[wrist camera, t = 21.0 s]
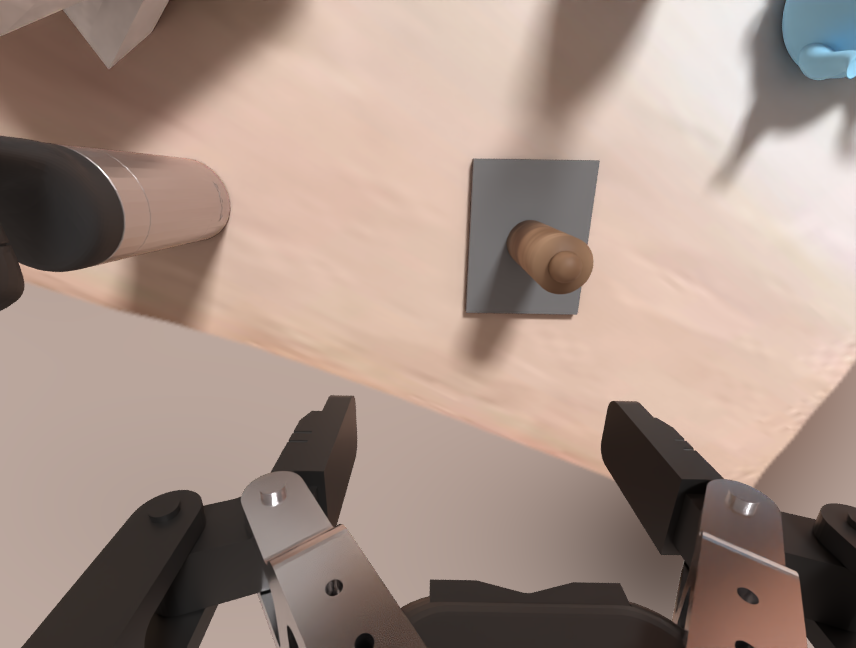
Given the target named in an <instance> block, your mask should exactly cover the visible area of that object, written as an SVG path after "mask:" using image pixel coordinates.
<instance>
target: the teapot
mask: <svg viewBox="0 0 856 648" xmlns="http://www.w3.org/2000/svg"><path fill="white" fill-rule="evenodd" d="M782 32H783V39H784V43H785V46H786V48H787V51H788V53H789V54H790V56H791V58H792V59H793V60H794V62H795V63H796V64H797V65H798V66H799V67H800V69H801V71H802V72H803V74H804V75H805V76H807V77H808V78H810V79H814V80H824V79H828V78H844V77H847V78H848V79H852V78H854V77H855V76H856V0H786V3H785V7H784V12H783V20H782Z"/></svg>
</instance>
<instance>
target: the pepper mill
mask: <svg viewBox="0 0 856 648" xmlns="http://www.w3.org/2000/svg"><path fill="white" fill-rule="evenodd" d="M507 250H508V252H509V254H510V256H511V257H512V258H513V259H514V260H515V261H516V262H517V263H518V264H519V265H520V266H521V267H522V268H523V269H524V270H525V271H526V272H527V273H528V274H529V275H530V276H531V277H532V278H533V279H534V280H535V281H536V282H537V283H538V284H539V285H540V286H541V287H542V288H543V289H544V290H546V291H548V292H550V293H553V294H568V293H571V292H573V291H575V290H577V289H579V288H580V287H581V286H582V285H583V284H584V283H585V282H586V281H587V280H588V278H589V276H590V274H591V272H592V269H593V256H592V252H591V250H590V248H589V247H588V245H587V244H586V243H585V242H583V241H582V240H580V239H578V238H576V237H574V236H571V235H569V234H567V233H564V232H562V231H560V230H557V229H555V228H553V227H550V226H548V225H546V224H543V223H541V222H539V221H536V220H526V221H522V222H520V223H518V224H517V225H516V226H514V227H513V229H512V230H511V231H510V233H509V235H508V238H507Z"/></svg>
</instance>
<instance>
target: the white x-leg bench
mask: <svg viewBox="0 0 856 648" xmlns="http://www.w3.org/2000/svg"><path fill="white" fill-rule="evenodd" d="M168 2H169V0H0V36H3V35H5V34H8V33H10V32H12V31H14V30H17V29H19V28H21V27H24V26H26V25H28V24H31V23H33V22H35V21H38V20H40V19H42V18H45V17H47V16H49V15H52V14H54V13H56V12H58V11H61V10H63V11H64V12H65V13H66V15H67V16H68V17H69V19H70V20H71V21H72V22H73V24H74V25H75V26H76V28H77V29H78V30H79V32H80V33H81V34H82V36H83V37H84V38H85V39H86V41H87V42H88V43H89V45H90V46H91V47H92V49H93V50H94V51H95V52H96V54H97V55H98V56H99V58H100V59H101V60H102V62H103V63H104V64H105V66H106V67H107V68H108V69H110V68H112V67H113V66H114V65H115V64H116V63H117V62H118V61H120V60H121V59H122V58H123V57H124V56H125V55H126V54H128V53H129V52H130V51H131V50H132V49H133V48H134V47H136V46H137V45H138V44H139V43H140V42H141V41H142V40H144V39H145V38H146V37H147V36H148V35H149V34H150V33H152V31H153V29H154V27H155V25H156V24H157V22H158V20H159V18H160V16H161V14H162V13H163V11H164V9H165V7H166V5H167V3H168Z"/></svg>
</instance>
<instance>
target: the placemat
mask: <svg viewBox="0 0 856 648" xmlns="http://www.w3.org/2000/svg"><path fill="white" fill-rule="evenodd" d="M599 162H600V161H595V160H531V159H473V169H472V190H471V211H470V231H469V252H468V273H467V293H466V313H516V314H575V315H577V313H578V306H579V299H580V292H581V287H580V288H579V289H577V290H575V291H573V292H571V293H568V294H553V293H550V292H548V291H546V290H544V289H543V288H542V287H541V286H540V285H539V284H538V283H537V282H536V281H535V280H534V279H533V278H532V277H531V276H530V275H529V274H528V273H527V272H526V271H525V270H524V269H523V268H522V267H521V266H520V265H519V264H518V263H517V262H516V261H515V260H514V259H513V258H512V257H511V256H510V254H509V252H508V250H507V238H508V235H509V233H510V231H511V230H512V229H513V227H514V226H516V225H517V224H518V223H520V222H522V221H526V220H536V221H539V222H541V223H543V224H546V225H548V226H550V227H553V228H555V229H557V230H560V231H562V232H564V233H567V234H569V235H571V236H574V237H576V238H578V239H580V240H582V241H583V242H585V243H586V244H588V237H589V230H590V224H591V217H592V210H593V203H594V196H595V189H596V182H597V175H598V168H599Z"/></svg>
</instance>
